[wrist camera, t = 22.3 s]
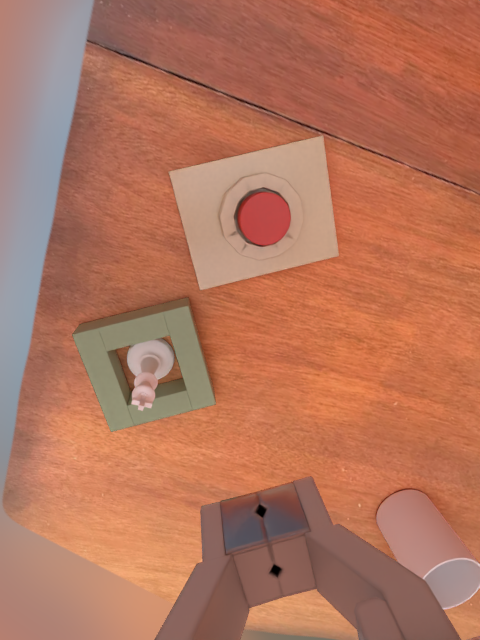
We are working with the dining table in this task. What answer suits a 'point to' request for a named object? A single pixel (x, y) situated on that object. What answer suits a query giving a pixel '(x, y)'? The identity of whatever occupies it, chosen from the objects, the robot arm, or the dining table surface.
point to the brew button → (264, 218)
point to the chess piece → (148, 369)
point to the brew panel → (227, 196)
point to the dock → (138, 327)
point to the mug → (429, 546)
